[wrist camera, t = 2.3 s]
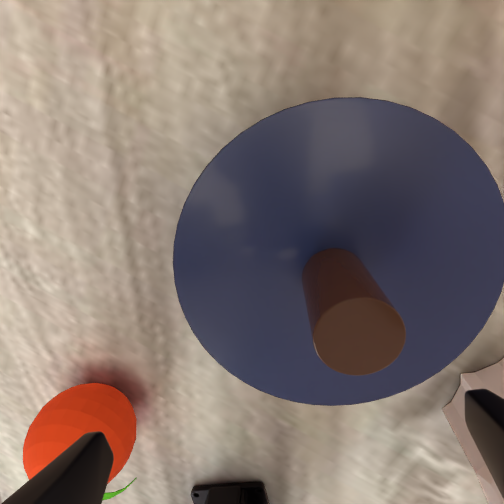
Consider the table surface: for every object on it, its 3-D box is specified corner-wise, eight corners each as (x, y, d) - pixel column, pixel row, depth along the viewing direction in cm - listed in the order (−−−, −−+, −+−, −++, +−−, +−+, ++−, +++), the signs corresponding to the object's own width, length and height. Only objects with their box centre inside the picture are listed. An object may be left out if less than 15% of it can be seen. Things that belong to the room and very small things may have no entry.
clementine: (177, 395, 25) (140, 489, 18) (143, 449, 27) (98, 551, 20) (83, 347, 24) (7, 427, 17) (55, 407, 26) (-21, 499, 19)
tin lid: (488, 373, 15) (596, 490, 10) (218, 402, 17) (193, 514, 12) (497, 61, 11) (688, -11, 6) (141, 143, 13) (52, 142, 8)
